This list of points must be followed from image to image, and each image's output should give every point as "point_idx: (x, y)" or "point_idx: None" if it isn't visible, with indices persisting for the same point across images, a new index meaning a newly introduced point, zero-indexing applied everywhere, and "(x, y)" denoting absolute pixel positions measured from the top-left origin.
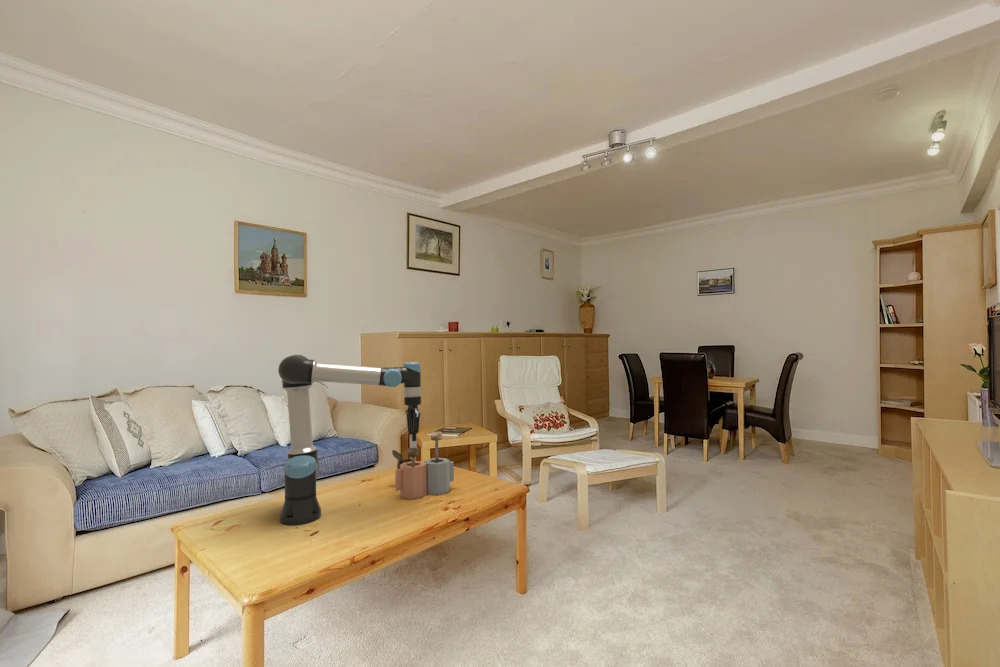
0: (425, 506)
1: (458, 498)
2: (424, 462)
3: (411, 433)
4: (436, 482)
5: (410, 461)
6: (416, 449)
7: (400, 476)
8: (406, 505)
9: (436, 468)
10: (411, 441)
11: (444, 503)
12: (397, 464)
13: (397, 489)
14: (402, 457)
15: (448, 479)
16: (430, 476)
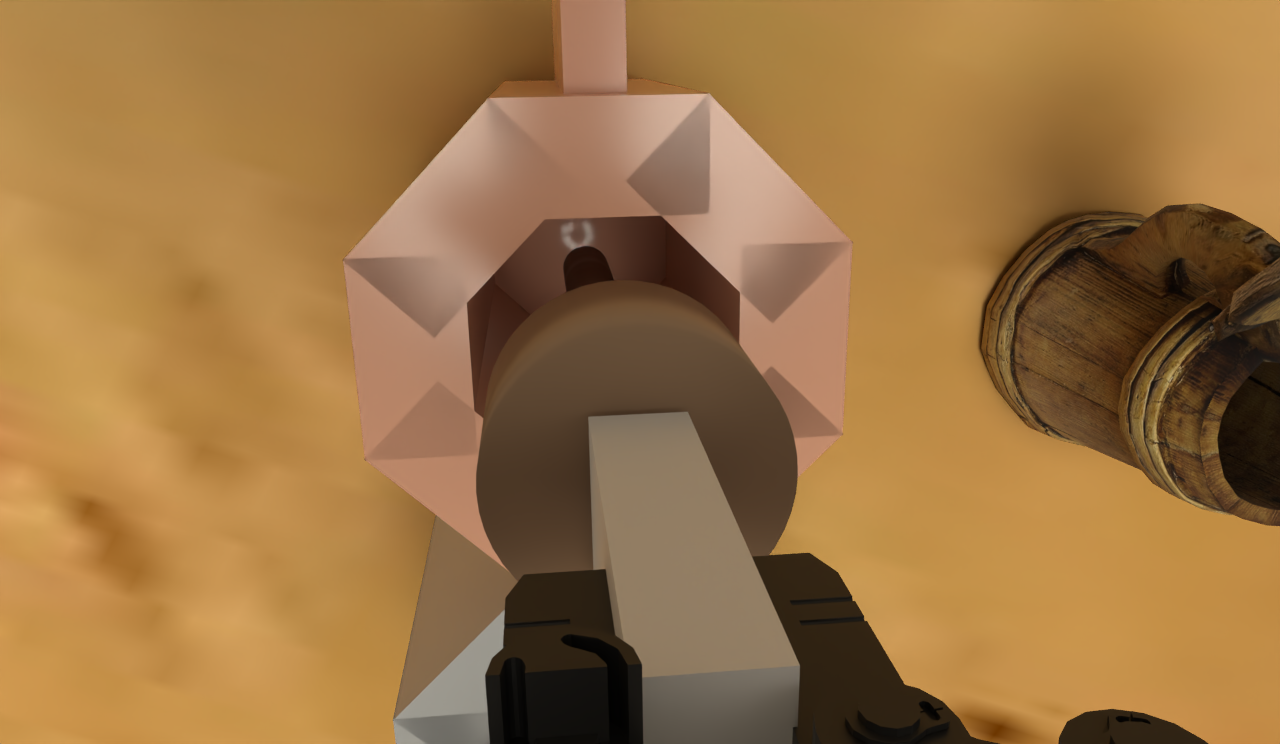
0: (81, 234)
1: (211, 644)
2: None
3: (494, 720)
4: (433, 551)
5: (1209, 453)
6: (489, 534)
7: (558, 56)
8: (222, 31)
9: (409, 667)
10: (606, 530)
11: (100, 462)
12: (1243, 220)
13: (552, 5)
14: (1244, 322)
15: None
16: None
